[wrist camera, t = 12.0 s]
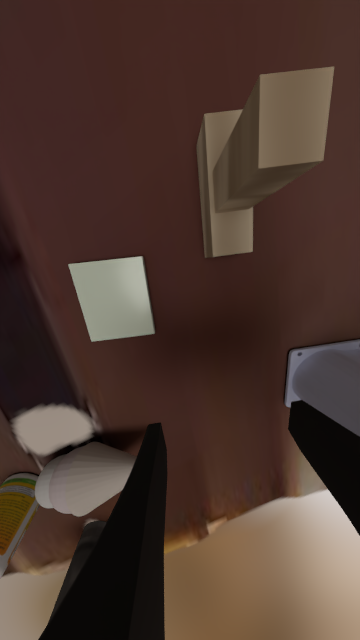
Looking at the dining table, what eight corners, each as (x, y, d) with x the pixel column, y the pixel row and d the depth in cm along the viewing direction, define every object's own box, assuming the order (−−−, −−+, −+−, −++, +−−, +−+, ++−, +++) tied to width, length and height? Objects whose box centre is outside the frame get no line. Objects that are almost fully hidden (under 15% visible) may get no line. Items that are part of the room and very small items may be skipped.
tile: (141, 256, 14) (68, 264, 14) (154, 333, 16) (91, 341, 16) (144, 256, 16) (77, 264, 15) (155, 328, 18) (97, 335, 18)
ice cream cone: (167, 427, 21) (71, 445, 25) (141, 432, 16) (25, 454, 19) (174, 494, 18) (63, 505, 21) (145, 526, 13) (6, 534, 16)
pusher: (235, 141, 13) (362, -85, 5) (237, 253, 16) (320, 243, 7) (196, 146, 13) (251, -75, 4) (204, 257, 16) (249, 252, 7)
